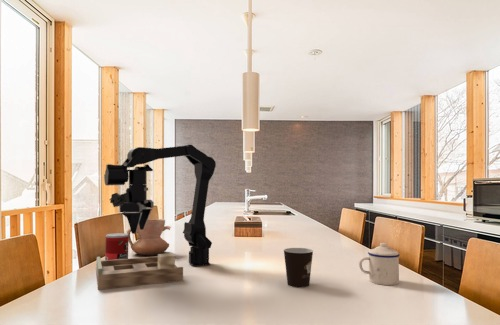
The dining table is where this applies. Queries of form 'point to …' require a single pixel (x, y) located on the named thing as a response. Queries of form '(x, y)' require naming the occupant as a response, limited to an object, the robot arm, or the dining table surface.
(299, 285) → the coffee mug
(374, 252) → the teacup with lid
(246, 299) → the dining table surface
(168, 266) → the maple block
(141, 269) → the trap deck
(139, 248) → the ceramic jug
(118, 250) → the canned food
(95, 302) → the dining table surface
